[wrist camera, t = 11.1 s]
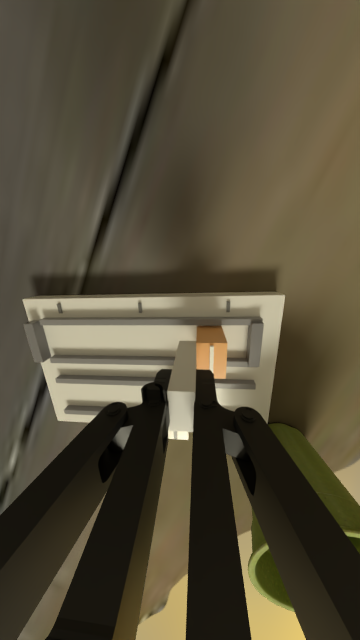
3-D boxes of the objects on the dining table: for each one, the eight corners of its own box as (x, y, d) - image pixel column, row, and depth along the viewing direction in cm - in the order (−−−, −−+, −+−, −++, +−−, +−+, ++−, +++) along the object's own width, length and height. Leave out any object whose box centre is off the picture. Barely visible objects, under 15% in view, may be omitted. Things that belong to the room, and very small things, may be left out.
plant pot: (279, 389, 22) (353, 509, 12) (343, 445, 24) (460, 595, 13) (209, 440, 26) (217, 569, 15) (269, 486, 27) (314, 632, 17)
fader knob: (196, 325, 18) (196, 344, 15) (221, 325, 18) (227, 344, 14) (196, 354, 19) (196, 379, 16) (220, 355, 19) (226, 380, 15)
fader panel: (37, 295, 21) (-23, 309, 16) (276, 291, 19) (311, 306, 13) (68, 409, 26) (30, 452, 20) (260, 418, 24) (281, 470, 18)
